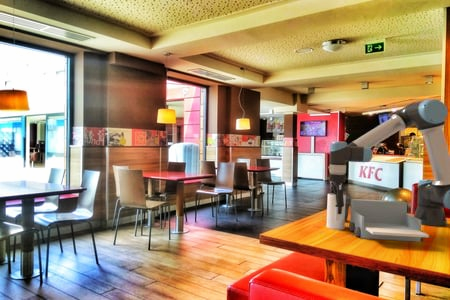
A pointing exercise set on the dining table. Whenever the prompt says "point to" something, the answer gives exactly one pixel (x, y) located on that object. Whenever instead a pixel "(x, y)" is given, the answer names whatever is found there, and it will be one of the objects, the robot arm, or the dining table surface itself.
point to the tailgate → (396, 232)
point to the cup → (334, 213)
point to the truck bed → (382, 219)
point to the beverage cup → (346, 204)
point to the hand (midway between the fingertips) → (335, 217)
